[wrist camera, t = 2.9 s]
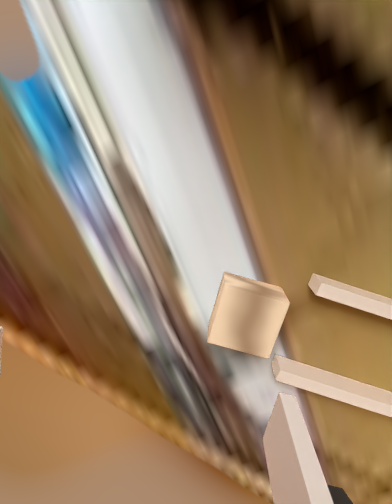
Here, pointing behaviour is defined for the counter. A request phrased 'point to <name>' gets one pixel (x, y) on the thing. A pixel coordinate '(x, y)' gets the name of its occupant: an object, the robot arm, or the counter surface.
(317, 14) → the counter surface
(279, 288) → the maple block
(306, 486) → the robot arm
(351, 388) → the channel
